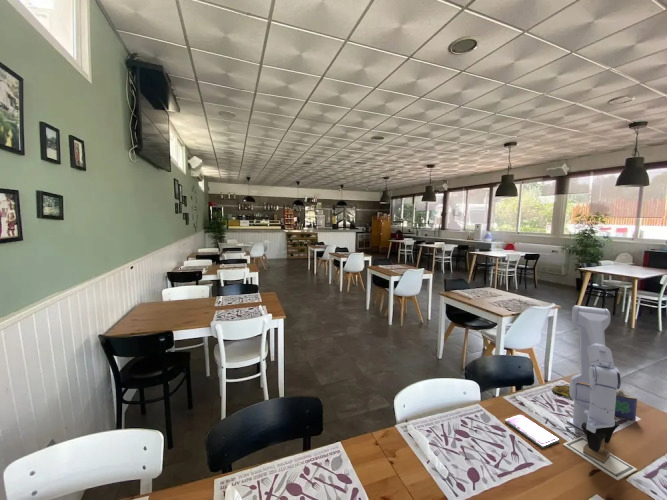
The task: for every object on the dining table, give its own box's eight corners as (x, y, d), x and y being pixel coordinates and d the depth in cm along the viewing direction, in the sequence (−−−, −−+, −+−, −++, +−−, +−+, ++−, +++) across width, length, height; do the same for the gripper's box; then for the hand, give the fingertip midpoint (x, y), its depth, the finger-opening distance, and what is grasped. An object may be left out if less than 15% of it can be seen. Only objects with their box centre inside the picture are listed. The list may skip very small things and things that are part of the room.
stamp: (589, 446, 91) (590, 428, 91) (609, 457, 87) (611, 437, 87) (583, 452, 89) (584, 433, 88) (604, 463, 84) (605, 444, 84)
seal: (563, 402, 117) (595, 401, 118) (564, 393, 116) (597, 391, 117) (545, 388, 126) (575, 386, 127) (546, 378, 126) (577, 377, 127)
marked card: (581, 437, 96) (581, 436, 96) (636, 470, 83) (637, 468, 83) (563, 444, 92) (563, 443, 92) (617, 480, 79) (617, 478, 79)
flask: (633, 418, 106) (636, 391, 105) (637, 422, 103) (639, 395, 103) (601, 410, 110) (603, 384, 110) (604, 414, 108) (606, 388, 107)
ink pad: (520, 416, 106) (520, 413, 106) (559, 442, 94) (559, 438, 94) (504, 422, 103) (505, 418, 103) (542, 448, 91) (542, 444, 91)
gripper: (595, 391, 93) (592, 429, 94) (575, 404, 86) (572, 444, 87) (624, 403, 87) (621, 443, 88) (605, 417, 80) (601, 461, 81)
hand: (598, 445), depth 87 cm, fingers open, 7 cm apart
